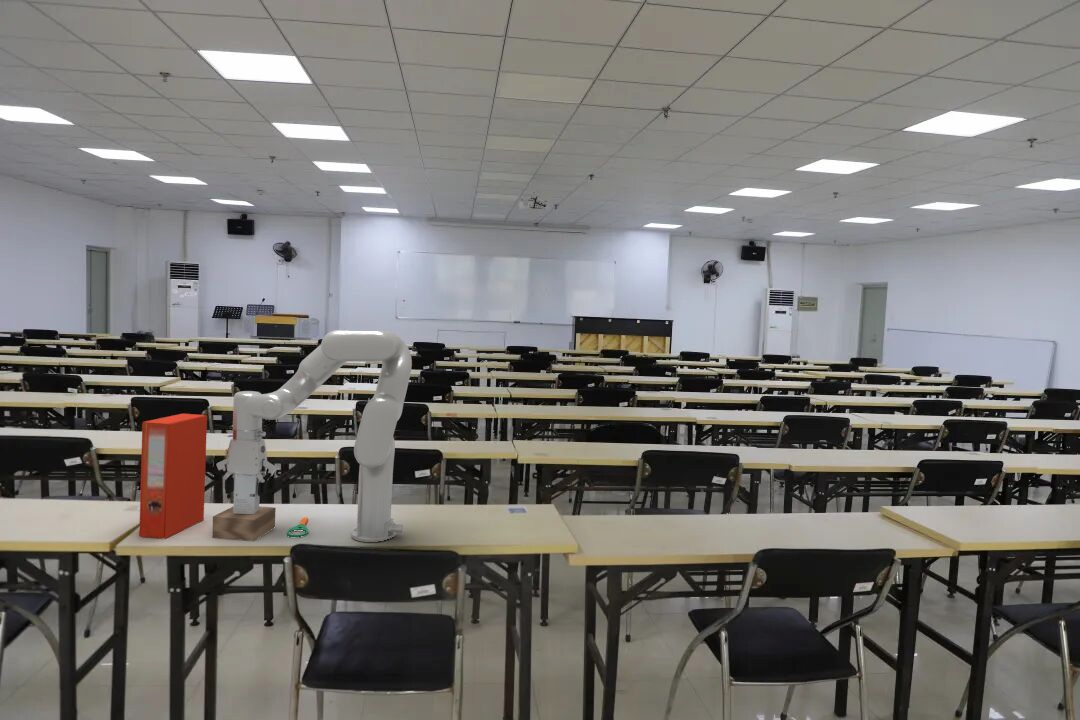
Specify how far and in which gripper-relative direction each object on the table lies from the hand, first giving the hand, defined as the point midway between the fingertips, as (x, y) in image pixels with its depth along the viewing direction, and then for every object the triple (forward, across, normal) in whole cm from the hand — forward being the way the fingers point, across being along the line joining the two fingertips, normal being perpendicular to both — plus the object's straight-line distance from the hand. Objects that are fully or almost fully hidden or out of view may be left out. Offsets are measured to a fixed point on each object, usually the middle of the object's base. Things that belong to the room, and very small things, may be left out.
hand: (245, 493), depth 183 cm
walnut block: (+11, 0, 0) cm, 11 cm away
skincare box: (+6, 0, 0) cm, 6 cm away
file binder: (+12, +21, +1) cm, 24 cm away
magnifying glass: (+12, -14, -6) cm, 19 cm away
